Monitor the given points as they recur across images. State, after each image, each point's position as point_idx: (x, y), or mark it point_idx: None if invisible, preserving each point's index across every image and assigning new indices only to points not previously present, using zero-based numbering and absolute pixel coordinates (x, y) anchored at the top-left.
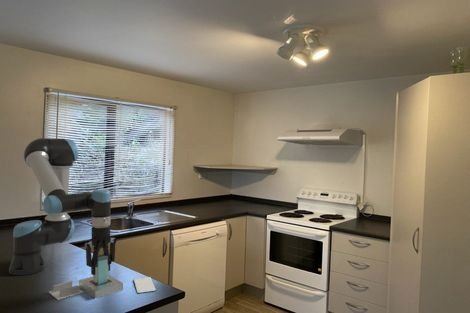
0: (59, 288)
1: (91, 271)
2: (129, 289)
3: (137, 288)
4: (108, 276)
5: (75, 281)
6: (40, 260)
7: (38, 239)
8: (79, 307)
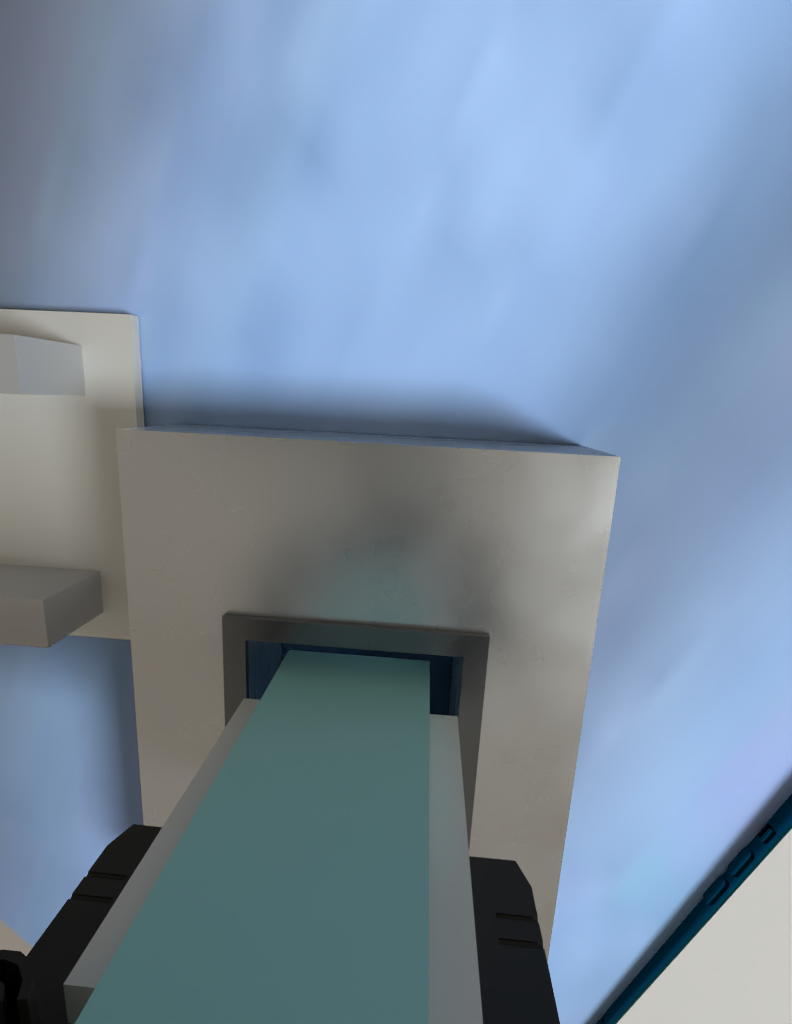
0: None
1: (78, 905)
2: (582, 934)
3: (643, 1009)
4: (554, 648)
5: (223, 148)
6: None
7: None
8: (11, 908)
